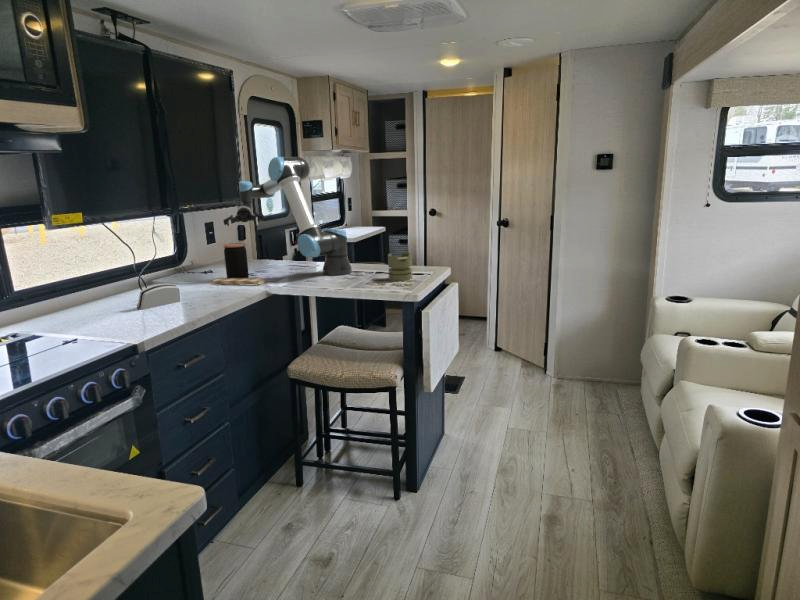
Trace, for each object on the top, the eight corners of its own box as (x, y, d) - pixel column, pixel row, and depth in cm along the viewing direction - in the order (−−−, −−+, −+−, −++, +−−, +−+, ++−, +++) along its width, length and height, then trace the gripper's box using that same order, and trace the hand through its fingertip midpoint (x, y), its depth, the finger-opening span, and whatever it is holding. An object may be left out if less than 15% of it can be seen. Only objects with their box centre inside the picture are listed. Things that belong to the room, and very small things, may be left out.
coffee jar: (252, 277, 273) (248, 242, 268) (244, 281, 262) (240, 245, 258) (232, 277, 274) (228, 243, 270) (223, 281, 263) (219, 245, 259)
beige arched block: (174, 300, 227) (176, 279, 222) (180, 305, 224) (182, 284, 220) (135, 308, 214) (136, 286, 210) (141, 313, 212) (142, 291, 207)
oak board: (265, 282, 258) (264, 278, 258) (258, 285, 252) (258, 280, 251) (220, 281, 263) (220, 277, 263) (213, 284, 257) (212, 280, 256)
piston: (385, 253, 257) (407, 252, 260) (386, 278, 259) (407, 275, 263) (391, 256, 246) (414, 255, 249) (392, 282, 249) (415, 279, 252)
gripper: (268, 218, 294) (269, 228, 275) (221, 223, 289) (219, 234, 270) (266, 204, 291) (267, 214, 272) (219, 209, 286) (216, 219, 267)
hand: (243, 224), depth 271 cm, fingers open, 13 cm apart
